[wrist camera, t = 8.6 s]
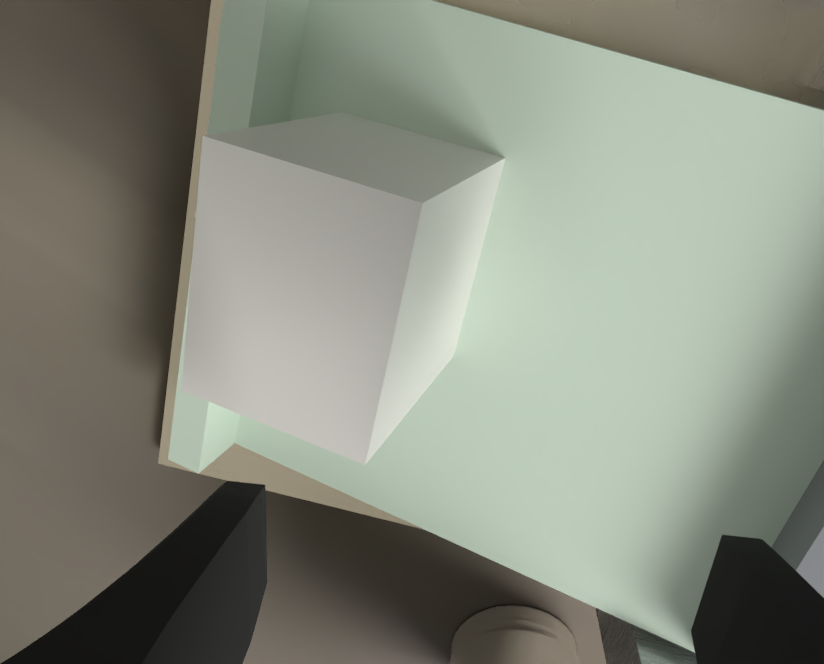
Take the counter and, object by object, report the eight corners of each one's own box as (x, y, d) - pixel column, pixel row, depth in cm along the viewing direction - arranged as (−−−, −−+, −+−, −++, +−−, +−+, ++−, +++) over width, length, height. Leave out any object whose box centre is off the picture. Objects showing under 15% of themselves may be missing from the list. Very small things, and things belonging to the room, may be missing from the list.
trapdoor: (1269, 231, 14) (1483, 299, 10) (912, 682, 20) (963, 835, 16) (326, -32, 19) (229, -54, 15) (252, 394, 24) (168, 459, 20)
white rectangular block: (505, 157, 16) (423, 203, 11) (453, 355, 18) (364, 465, 13) (342, 112, 17) (202, 135, 12) (311, 305, 19) (181, 390, 14)
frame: (1147, 82, 17) (1453, 124, 12) (801, 610, 25) (891, 783, 19) (238, -171, 17) (124, -248, 11) (165, 452, 24) (75, 587, 19)
